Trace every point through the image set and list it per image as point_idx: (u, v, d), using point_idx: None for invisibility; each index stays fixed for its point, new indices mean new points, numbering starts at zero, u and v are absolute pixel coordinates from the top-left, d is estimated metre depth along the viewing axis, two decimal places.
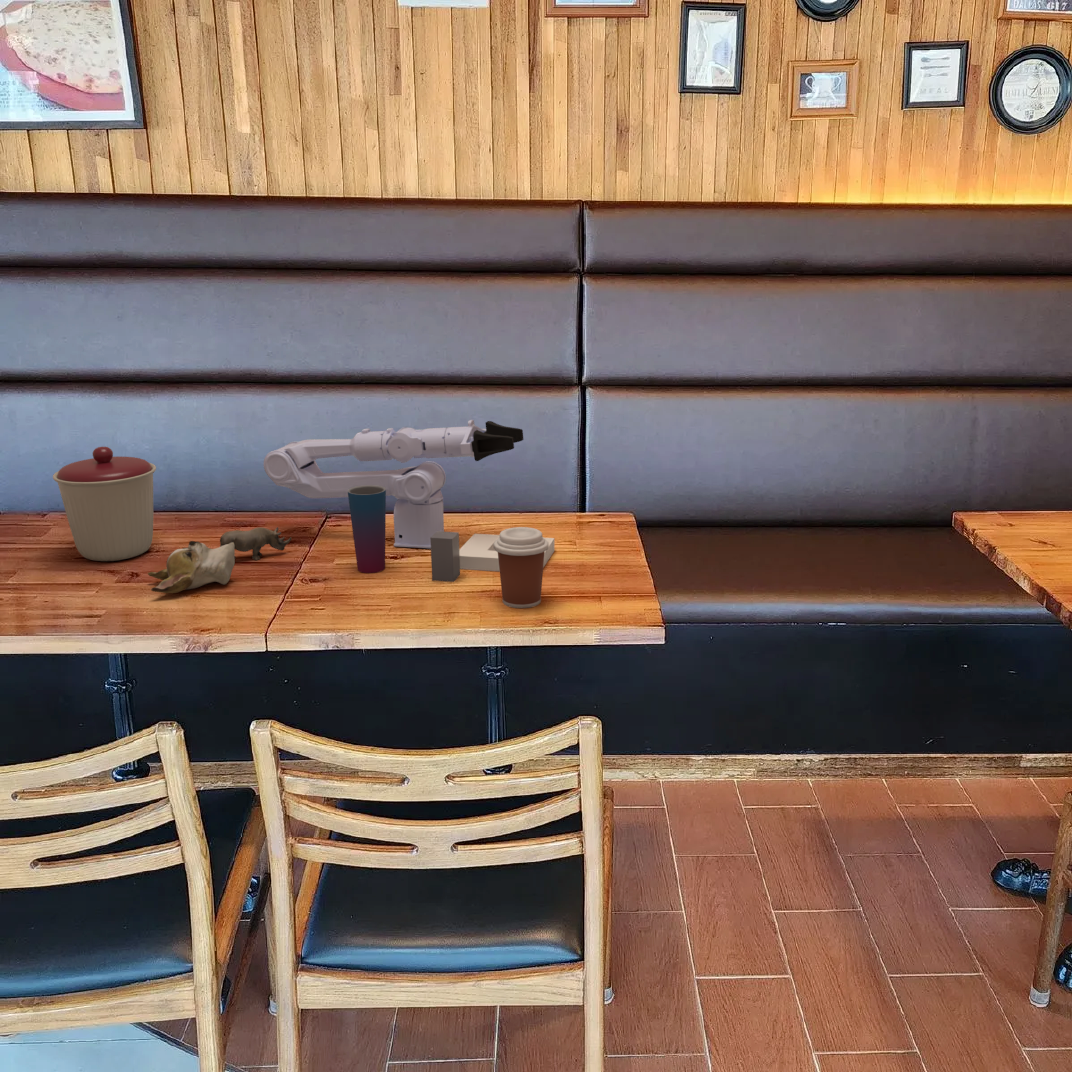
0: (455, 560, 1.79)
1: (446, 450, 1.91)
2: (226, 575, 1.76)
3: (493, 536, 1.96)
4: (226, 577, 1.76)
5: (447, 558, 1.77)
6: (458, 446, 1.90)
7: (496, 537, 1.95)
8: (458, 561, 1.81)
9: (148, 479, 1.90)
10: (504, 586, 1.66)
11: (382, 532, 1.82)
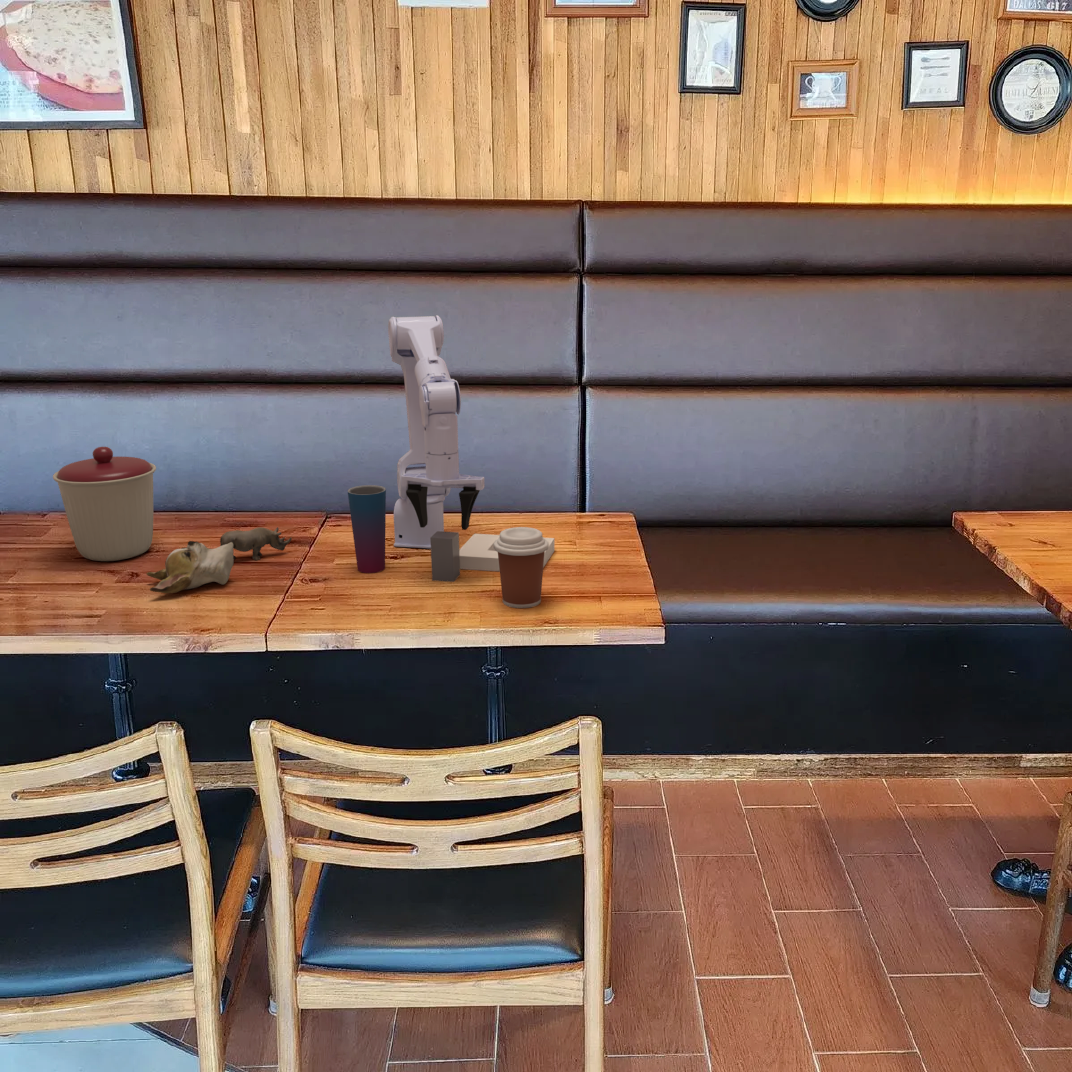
0: (455, 560, 1.79)
1: None
2: (225, 575, 1.76)
3: (493, 536, 1.96)
4: (225, 577, 1.76)
5: (447, 558, 1.77)
6: None
7: (496, 537, 1.95)
8: (458, 561, 1.81)
9: (148, 479, 1.90)
10: (504, 586, 1.66)
11: (382, 532, 1.82)
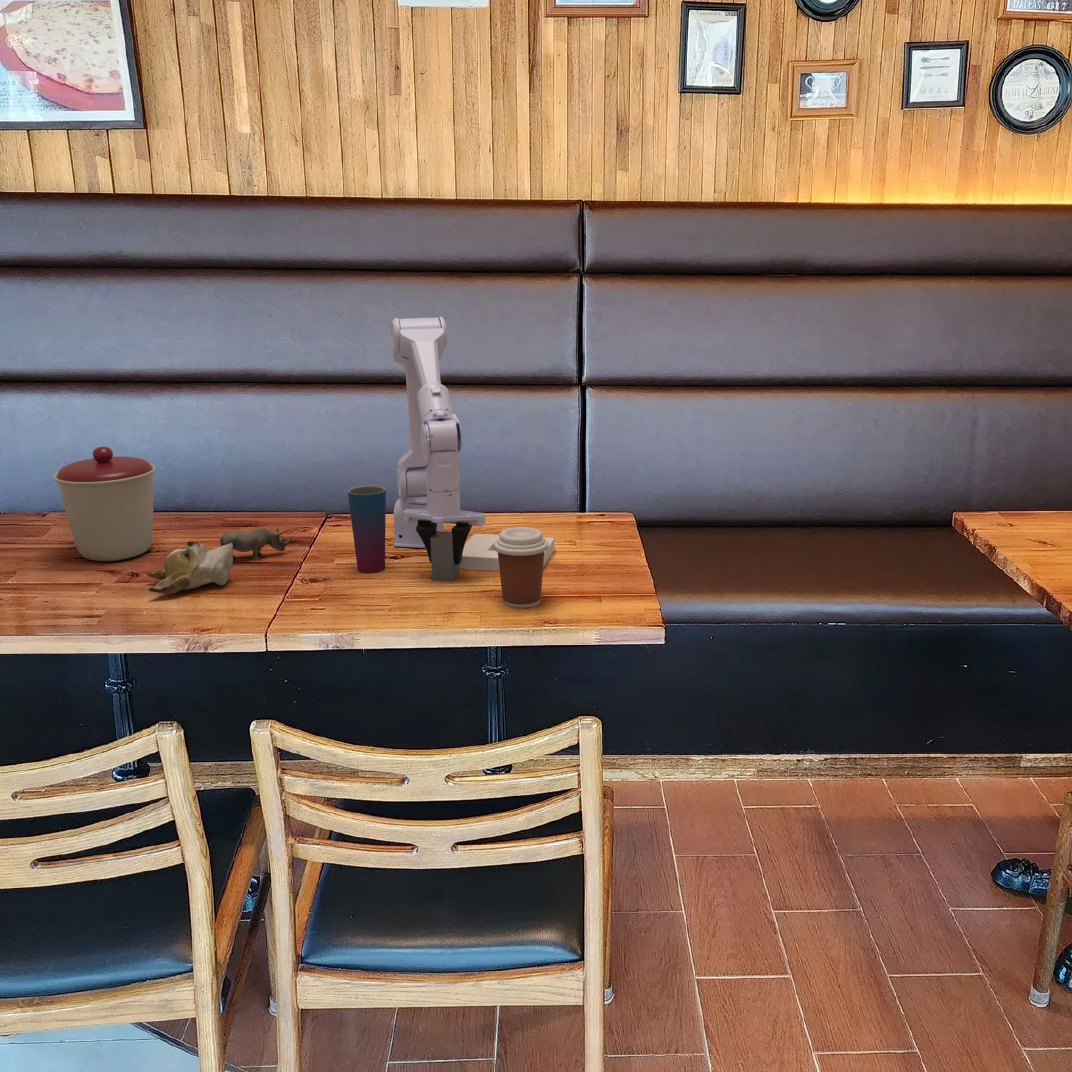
0: None
1: None
2: (224, 576, 1.75)
3: (493, 536, 1.96)
4: (224, 578, 1.75)
5: (447, 558, 1.77)
6: None
7: (496, 537, 1.95)
8: None
9: (148, 479, 1.90)
10: (504, 586, 1.66)
11: (382, 532, 1.82)
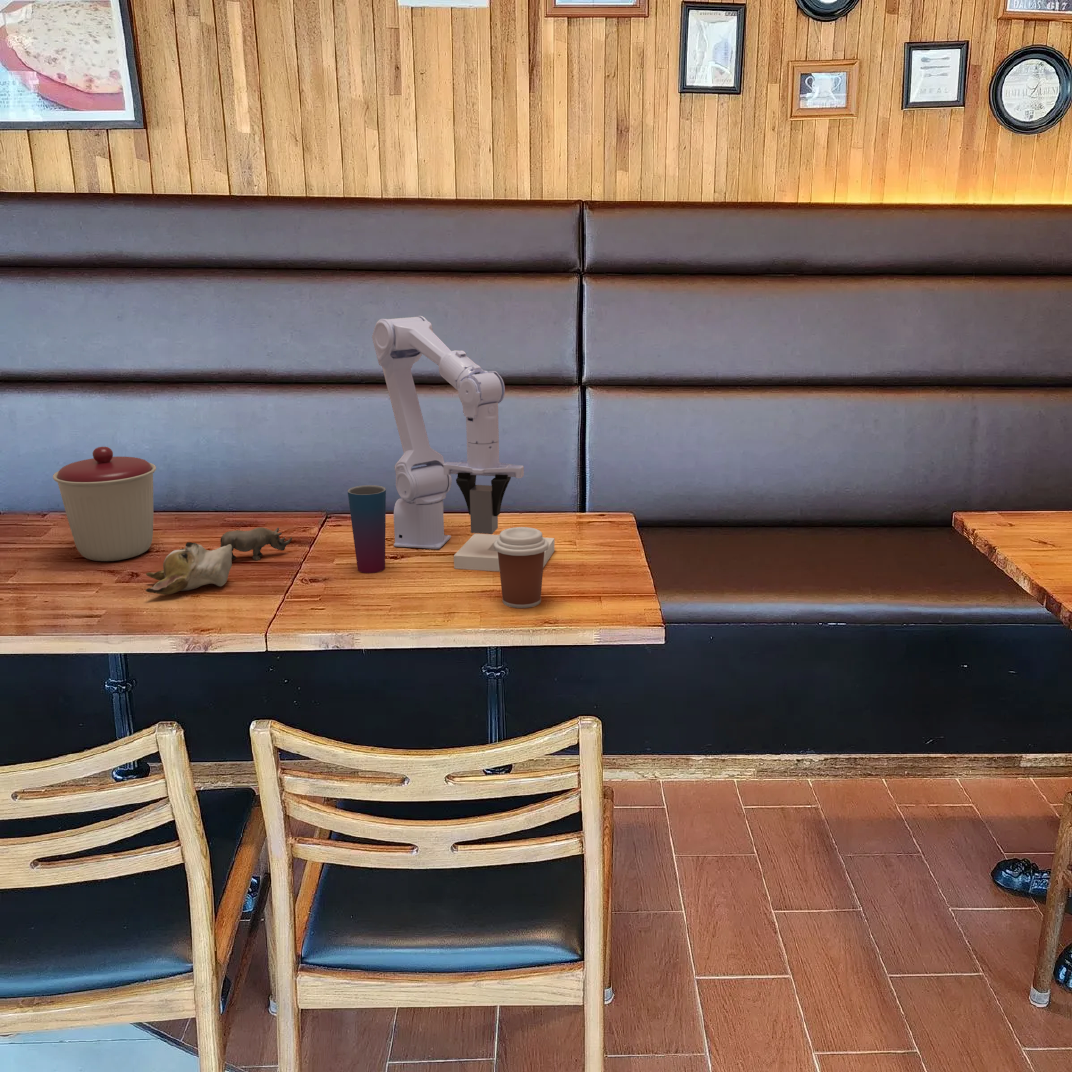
0: None
1: None
2: (222, 577, 1.75)
3: (493, 536, 1.96)
4: (222, 579, 1.75)
5: (486, 510, 1.81)
6: None
7: (496, 537, 1.95)
8: None
9: (148, 479, 1.90)
10: (504, 586, 1.66)
11: (382, 532, 1.82)
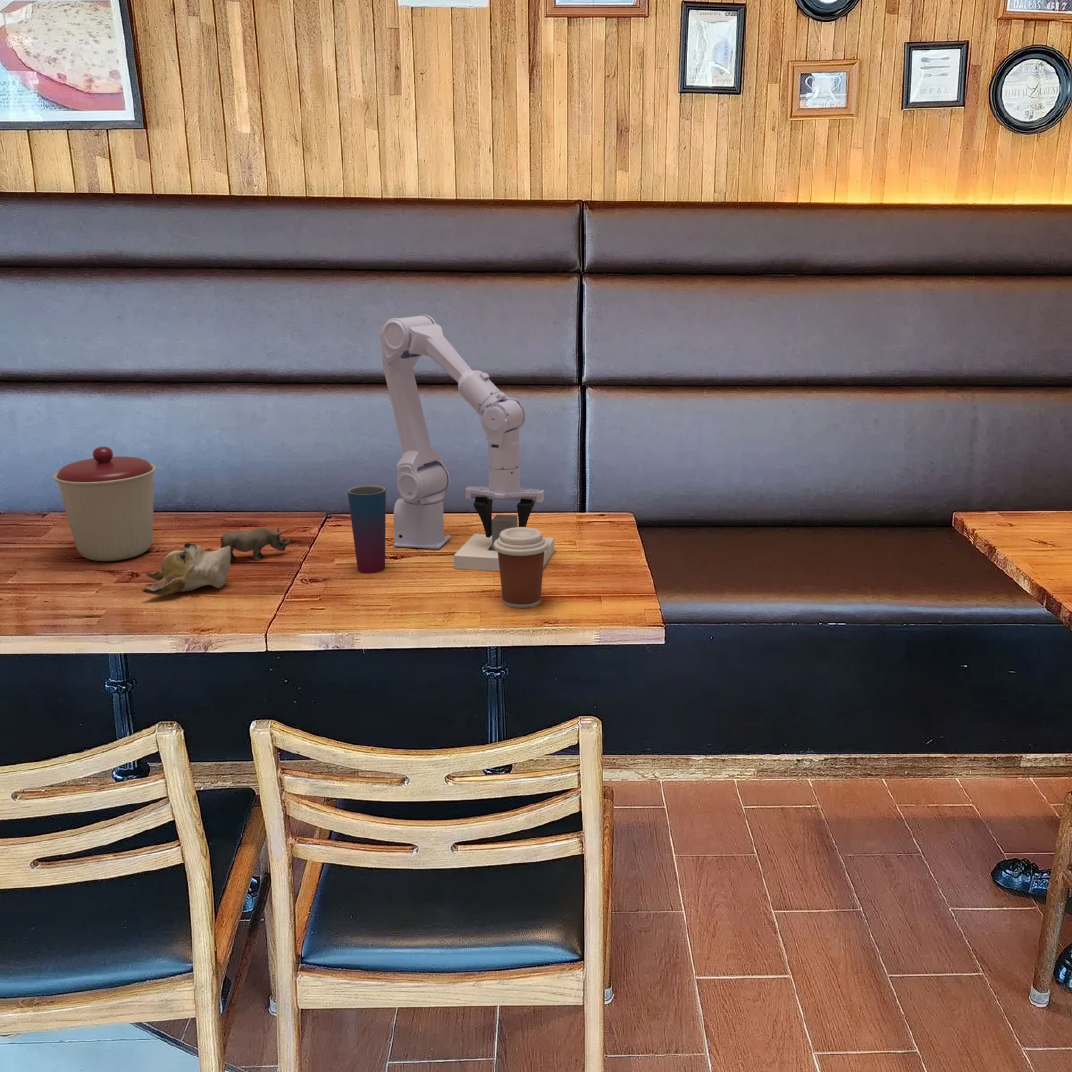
0: None
1: None
2: (220, 579, 1.74)
3: None
4: (219, 581, 1.74)
5: None
6: None
7: None
8: None
9: (148, 479, 1.90)
10: (504, 586, 1.66)
11: (382, 532, 1.82)
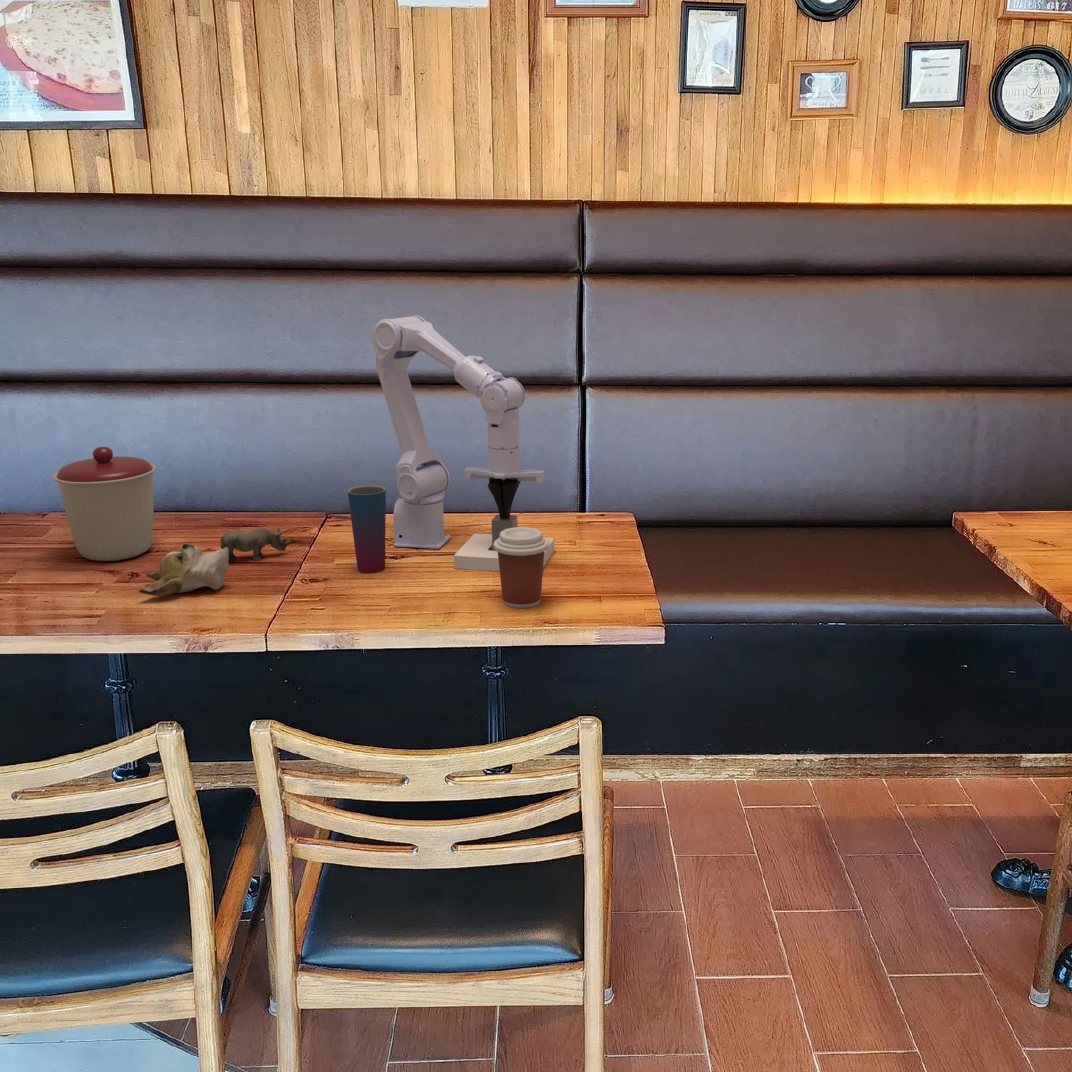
0: None
1: None
2: (217, 581, 1.73)
3: None
4: (216, 582, 1.73)
5: None
6: None
7: None
8: None
9: (148, 479, 1.90)
10: (504, 586, 1.66)
11: (382, 532, 1.82)
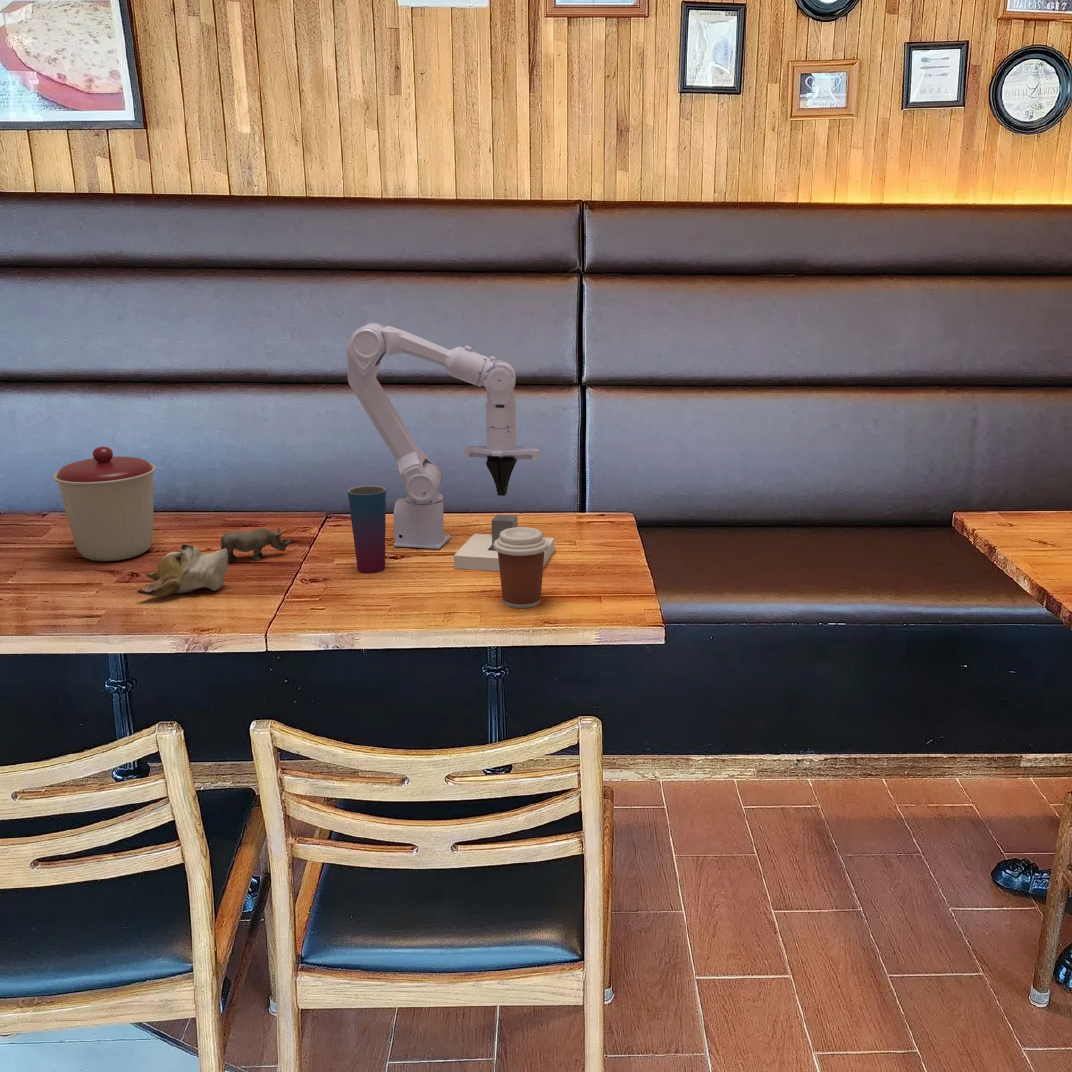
0: None
1: None
2: (215, 582, 1.72)
3: None
4: (215, 583, 1.73)
5: None
6: None
7: None
8: None
9: (148, 479, 1.90)
10: (504, 586, 1.66)
11: (382, 532, 1.82)
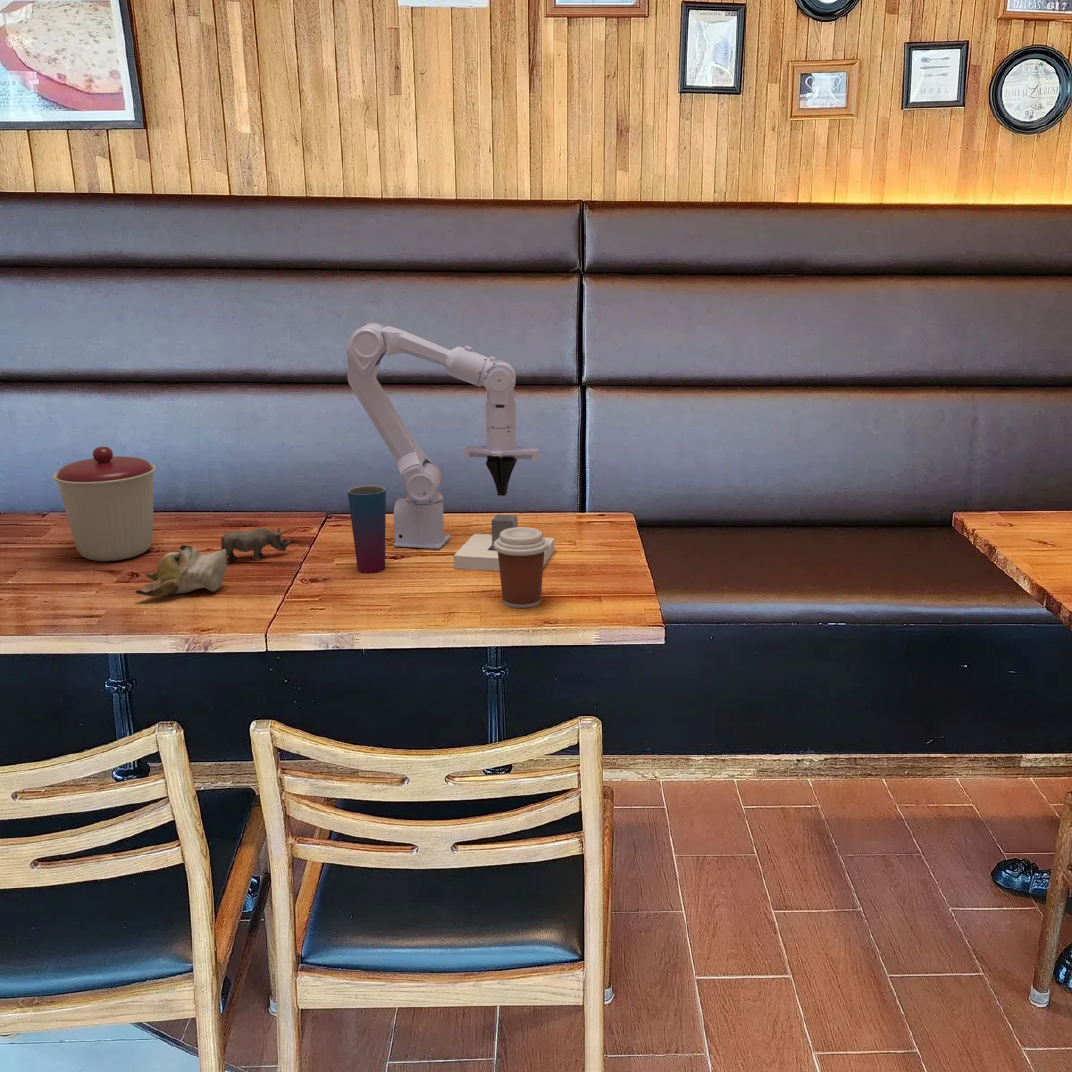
0: None
1: None
2: (213, 583, 1.72)
3: None
4: (213, 584, 1.72)
5: None
6: None
7: None
8: None
9: (148, 479, 1.90)
10: (504, 586, 1.66)
11: (382, 532, 1.82)
